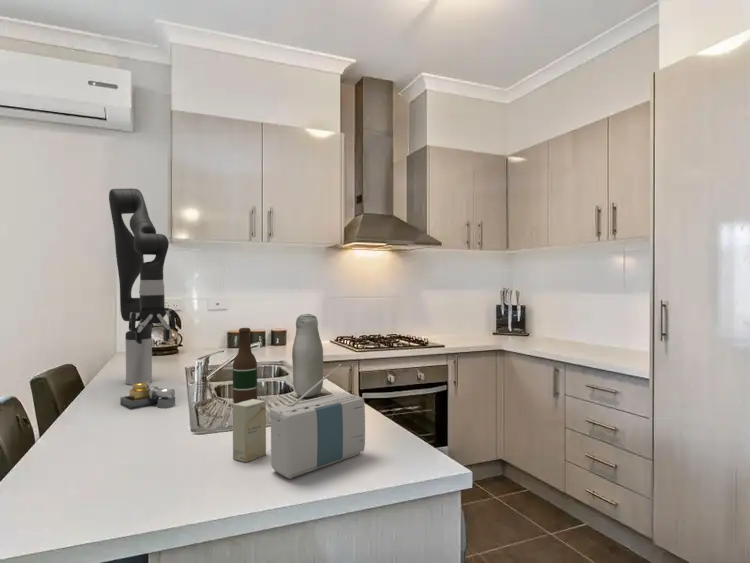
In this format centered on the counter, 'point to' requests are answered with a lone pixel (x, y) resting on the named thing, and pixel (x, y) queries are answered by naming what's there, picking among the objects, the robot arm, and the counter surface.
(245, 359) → the beer bottle
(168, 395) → the shaft right
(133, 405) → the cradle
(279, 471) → the stereo radio cassette player
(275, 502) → the counter surface
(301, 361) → the grey bottle
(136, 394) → the gold square-based knob
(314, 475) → the counter surface
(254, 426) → the skincare box
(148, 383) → the shaft left
